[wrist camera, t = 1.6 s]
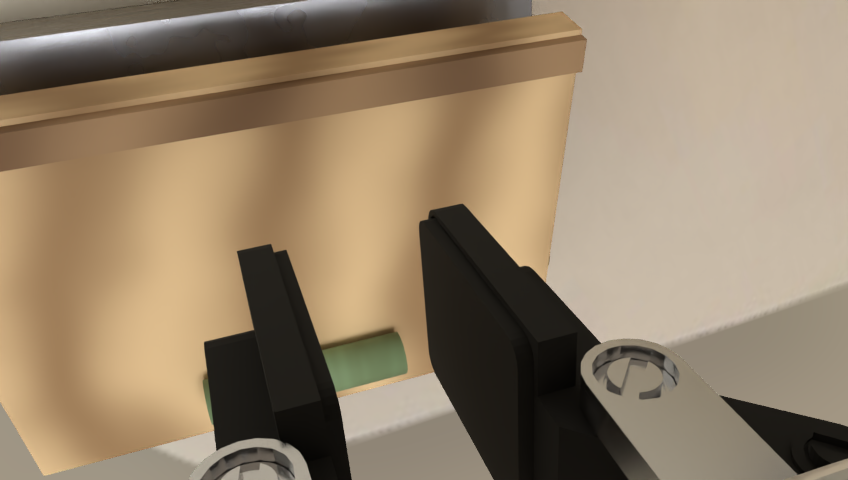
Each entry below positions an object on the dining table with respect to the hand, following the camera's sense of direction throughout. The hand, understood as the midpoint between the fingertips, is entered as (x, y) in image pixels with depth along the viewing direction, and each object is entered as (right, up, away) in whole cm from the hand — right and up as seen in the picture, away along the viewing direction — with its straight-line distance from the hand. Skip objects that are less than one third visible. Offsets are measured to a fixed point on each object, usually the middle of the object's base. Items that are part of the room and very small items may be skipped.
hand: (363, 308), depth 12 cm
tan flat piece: (-5, +1, +17) cm, 18 cm away
